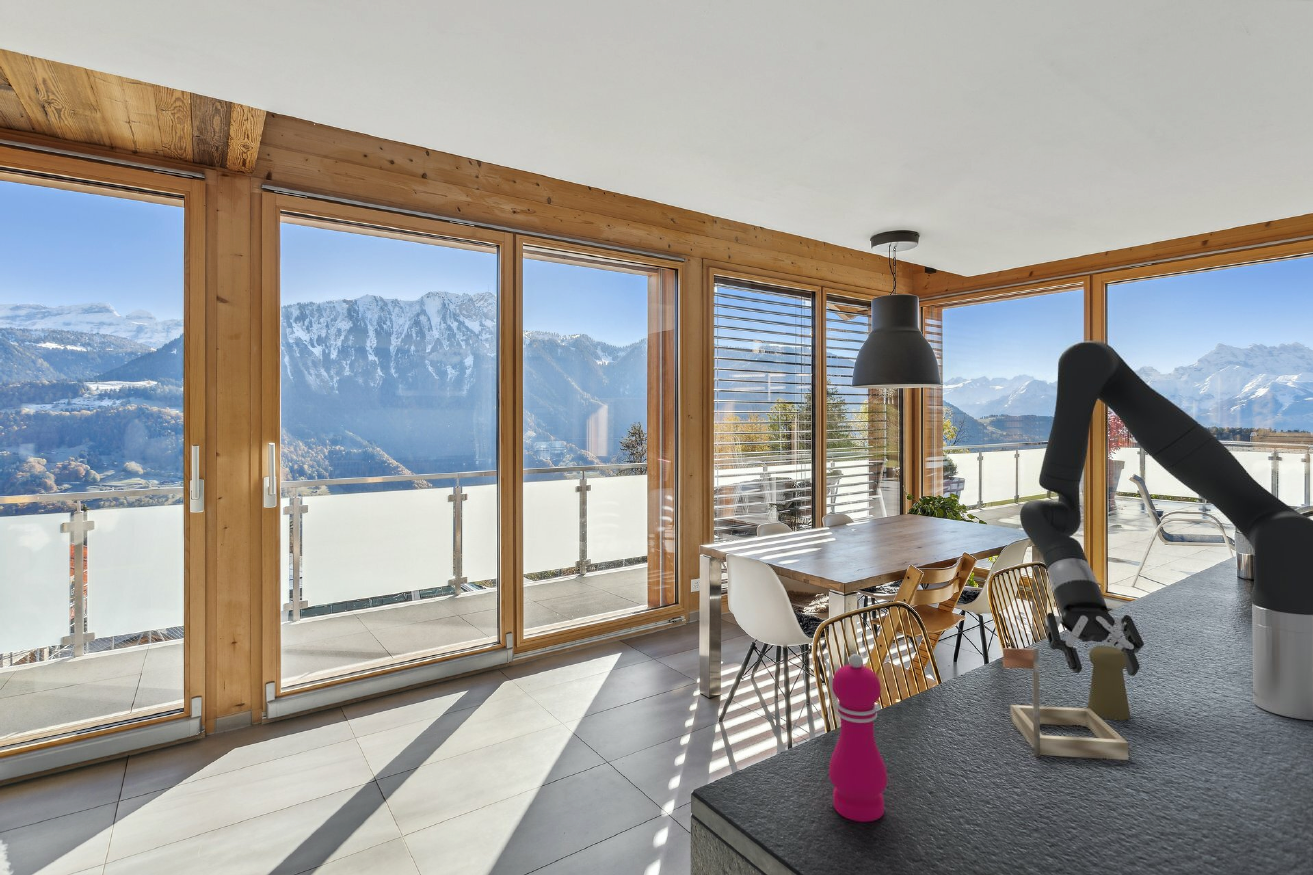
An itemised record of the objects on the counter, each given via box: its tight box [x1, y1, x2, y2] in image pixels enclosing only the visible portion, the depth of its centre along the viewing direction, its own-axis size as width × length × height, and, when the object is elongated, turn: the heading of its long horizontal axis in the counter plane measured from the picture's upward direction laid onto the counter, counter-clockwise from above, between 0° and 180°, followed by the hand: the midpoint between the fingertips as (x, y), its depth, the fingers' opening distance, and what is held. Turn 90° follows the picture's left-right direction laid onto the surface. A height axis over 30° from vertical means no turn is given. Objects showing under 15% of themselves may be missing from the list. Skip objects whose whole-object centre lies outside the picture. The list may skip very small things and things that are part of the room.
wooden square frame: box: [1002, 646, 1129, 761], centre depth 104 cm, size 17×13×16 cm
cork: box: [1087, 645, 1131, 721], centre depth 113 cm, size 6×6×11 cm
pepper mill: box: [828, 653, 888, 823], centre depth 86 cm, size 7×7×20 cm
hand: (1106, 672), depth 113 cm, fingers open, 8 cm apart
